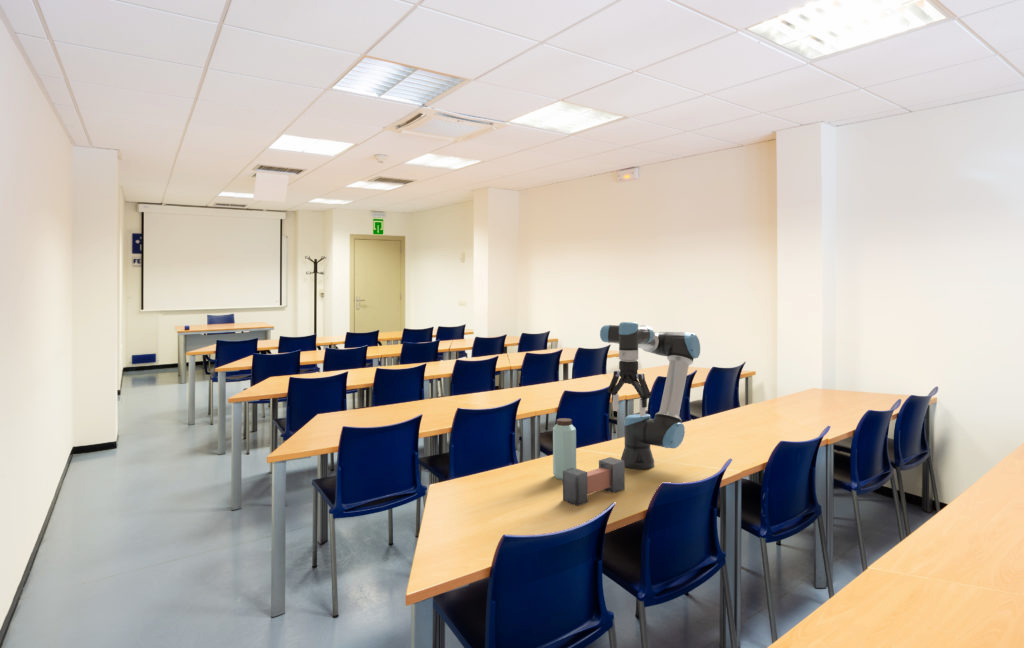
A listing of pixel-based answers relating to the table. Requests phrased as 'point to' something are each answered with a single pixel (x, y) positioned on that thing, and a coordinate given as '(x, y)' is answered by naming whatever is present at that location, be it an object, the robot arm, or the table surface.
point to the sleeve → (614, 473)
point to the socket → (575, 486)
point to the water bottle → (563, 447)
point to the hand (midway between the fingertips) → (628, 413)
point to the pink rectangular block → (598, 480)
